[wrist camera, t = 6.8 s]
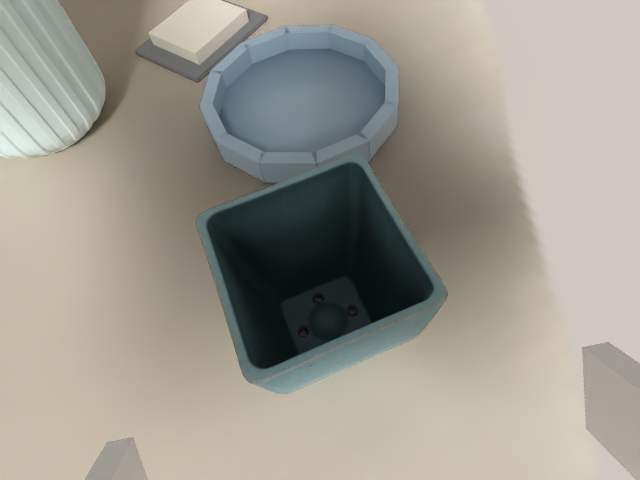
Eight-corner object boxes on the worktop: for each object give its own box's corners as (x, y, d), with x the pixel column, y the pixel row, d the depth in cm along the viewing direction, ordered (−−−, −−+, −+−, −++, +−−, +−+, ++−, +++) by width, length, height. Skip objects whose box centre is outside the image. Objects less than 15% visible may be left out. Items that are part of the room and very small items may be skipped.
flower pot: (238, 289, 29) (191, 212, 21) (362, 239, 30) (360, 148, 22) (284, 424, 25) (246, 388, 17) (427, 359, 26) (453, 298, 18)
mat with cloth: (197, 82, 39) (191, 67, 38) (136, 54, 42) (128, 39, 41) (267, 19, 43) (264, 3, 42) (206, -3, 46) (201, -19, 45)
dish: (326, 215, 31) (324, 196, 29) (173, 133, 37) (162, 113, 35) (431, 82, 37) (434, 60, 35) (284, 28, 42) (280, 6, 40)
